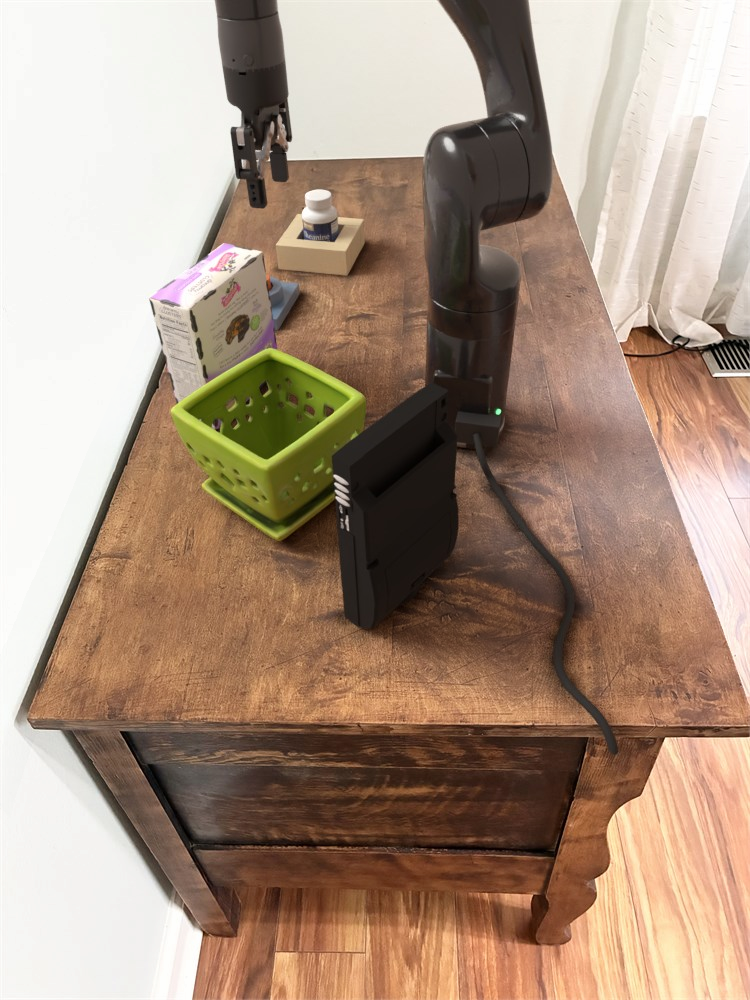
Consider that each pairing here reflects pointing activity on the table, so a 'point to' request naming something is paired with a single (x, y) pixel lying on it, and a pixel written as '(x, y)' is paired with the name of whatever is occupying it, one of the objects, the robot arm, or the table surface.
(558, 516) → the table surface
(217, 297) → the candy box
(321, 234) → the pill bottle
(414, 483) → the black electronic device
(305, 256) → the dock
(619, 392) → the table surface
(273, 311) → the switch block
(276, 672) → the table surface
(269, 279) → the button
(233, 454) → the flower pot
